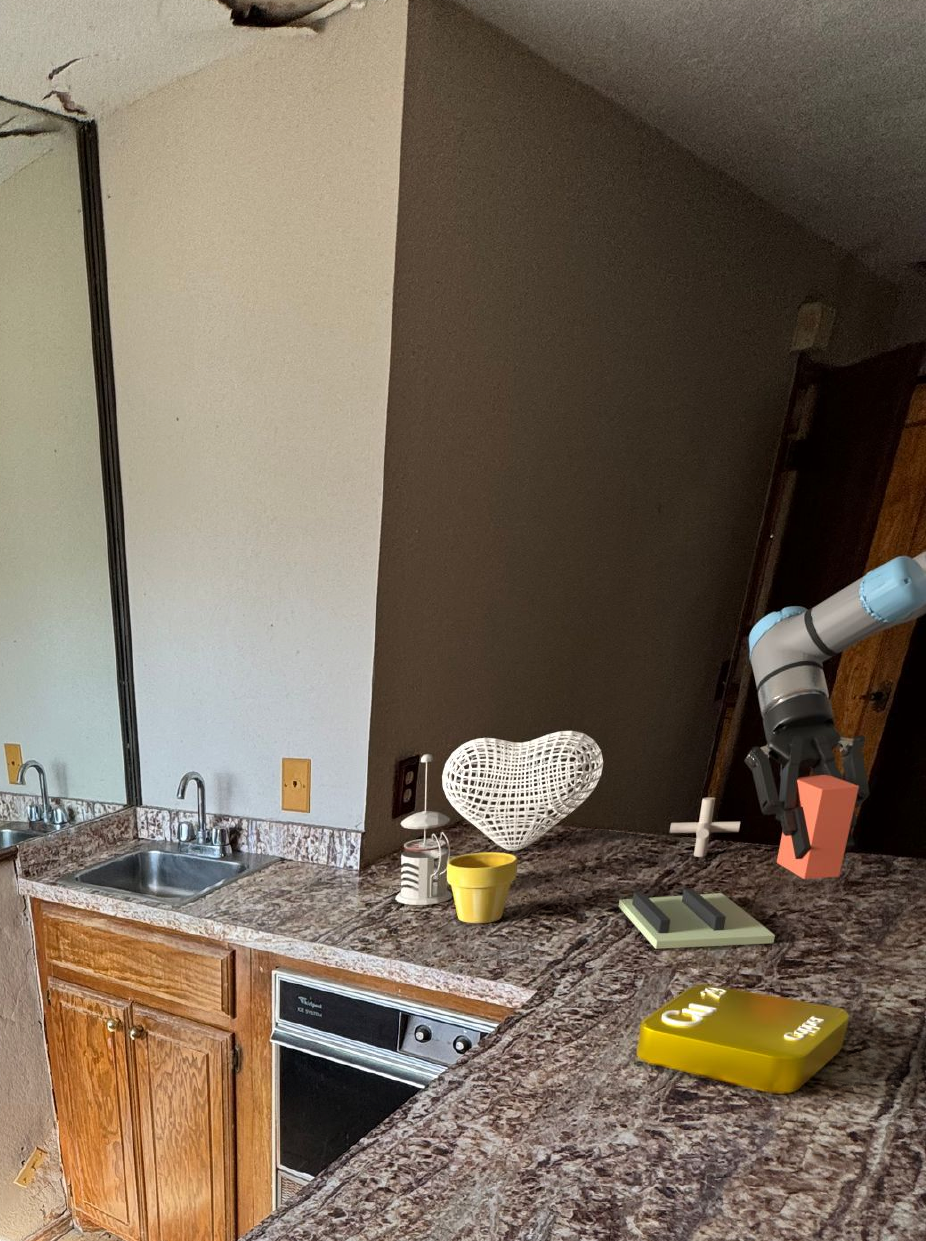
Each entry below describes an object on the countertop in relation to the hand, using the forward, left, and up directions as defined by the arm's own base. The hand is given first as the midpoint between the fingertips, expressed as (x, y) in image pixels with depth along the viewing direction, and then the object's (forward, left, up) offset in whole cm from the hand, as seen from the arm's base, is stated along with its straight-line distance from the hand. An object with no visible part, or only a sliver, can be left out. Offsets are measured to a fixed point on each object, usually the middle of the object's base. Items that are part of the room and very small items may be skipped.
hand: (824, 851), depth 119 cm
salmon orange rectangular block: (+3, -2, -3) cm, 5 cm away
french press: (+46, +30, -11) cm, 56 cm away
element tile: (-24, +38, -11) cm, 46 cm away
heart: (+62, 0, -11) cm, 62 cm away
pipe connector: (+36, -18, -11) cm, 42 cm away
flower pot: (+31, +30, -11) cm, 44 cm away
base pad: (+10, +10, -11) cm, 17 cm away
